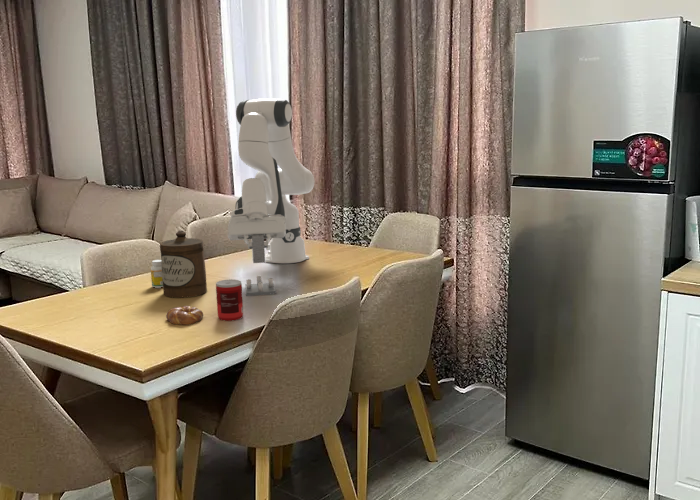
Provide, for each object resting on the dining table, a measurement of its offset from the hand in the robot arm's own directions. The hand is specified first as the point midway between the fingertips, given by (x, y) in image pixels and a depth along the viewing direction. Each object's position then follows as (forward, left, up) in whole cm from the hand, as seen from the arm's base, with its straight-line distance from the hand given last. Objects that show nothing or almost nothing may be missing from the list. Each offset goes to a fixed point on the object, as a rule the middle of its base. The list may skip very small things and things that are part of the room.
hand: (258, 247), depth 236 cm
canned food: (+29, -15, -16) cm, 36 cm away
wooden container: (-8, -25, -16) cm, 31 cm away
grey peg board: (-1, 0, -16) cm, 16 cm away
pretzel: (+26, -28, -16) cm, 41 cm away
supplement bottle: (-21, -33, -16) cm, 42 cm away
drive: (-1, 0, -5) cm, 5 cm away
